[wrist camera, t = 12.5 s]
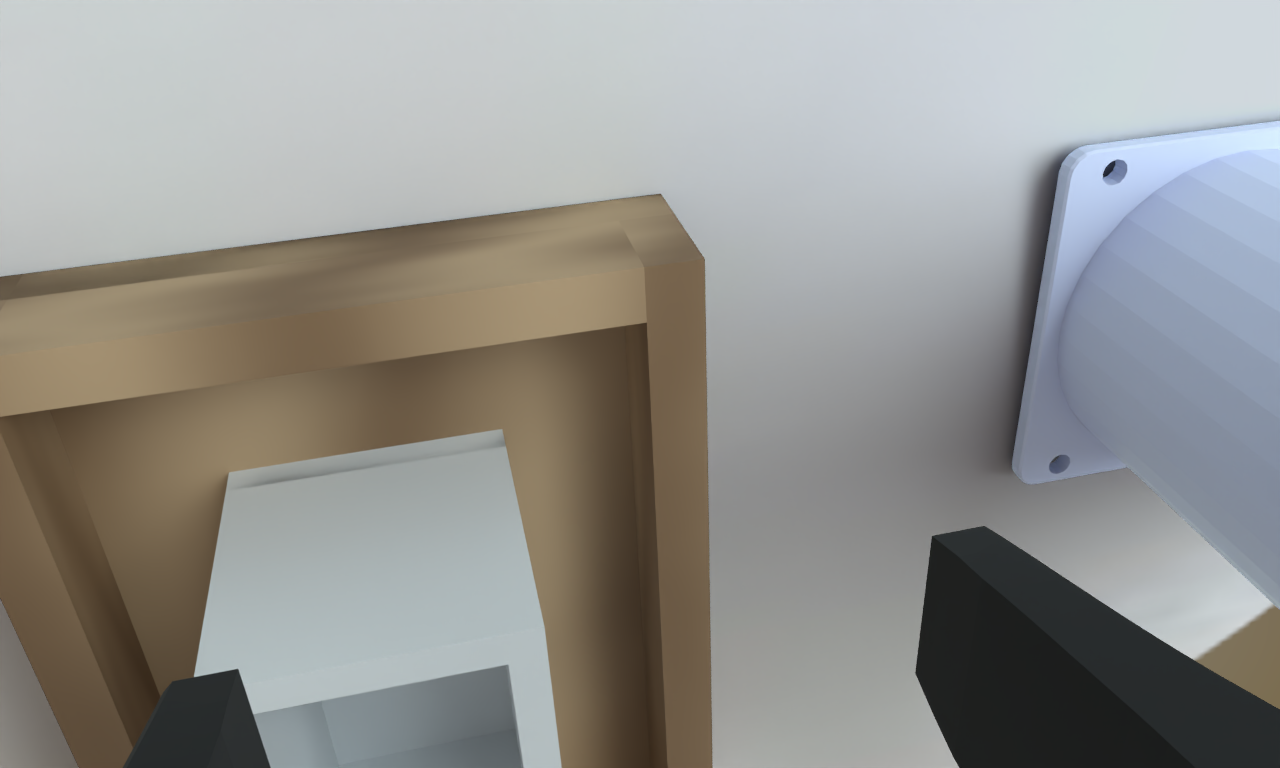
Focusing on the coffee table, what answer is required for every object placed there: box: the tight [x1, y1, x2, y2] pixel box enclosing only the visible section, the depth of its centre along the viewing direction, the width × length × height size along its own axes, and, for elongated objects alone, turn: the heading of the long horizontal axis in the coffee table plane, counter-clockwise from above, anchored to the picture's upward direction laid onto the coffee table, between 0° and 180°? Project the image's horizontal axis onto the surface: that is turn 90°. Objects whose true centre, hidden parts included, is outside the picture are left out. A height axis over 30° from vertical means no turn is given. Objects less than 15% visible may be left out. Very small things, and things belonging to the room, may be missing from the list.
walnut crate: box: [0, 194, 712, 768], centre depth 22 cm, size 12×16×3 cm
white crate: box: [194, 429, 562, 768], centre depth 20 cm, size 5×8×6 cm, turn 3°
